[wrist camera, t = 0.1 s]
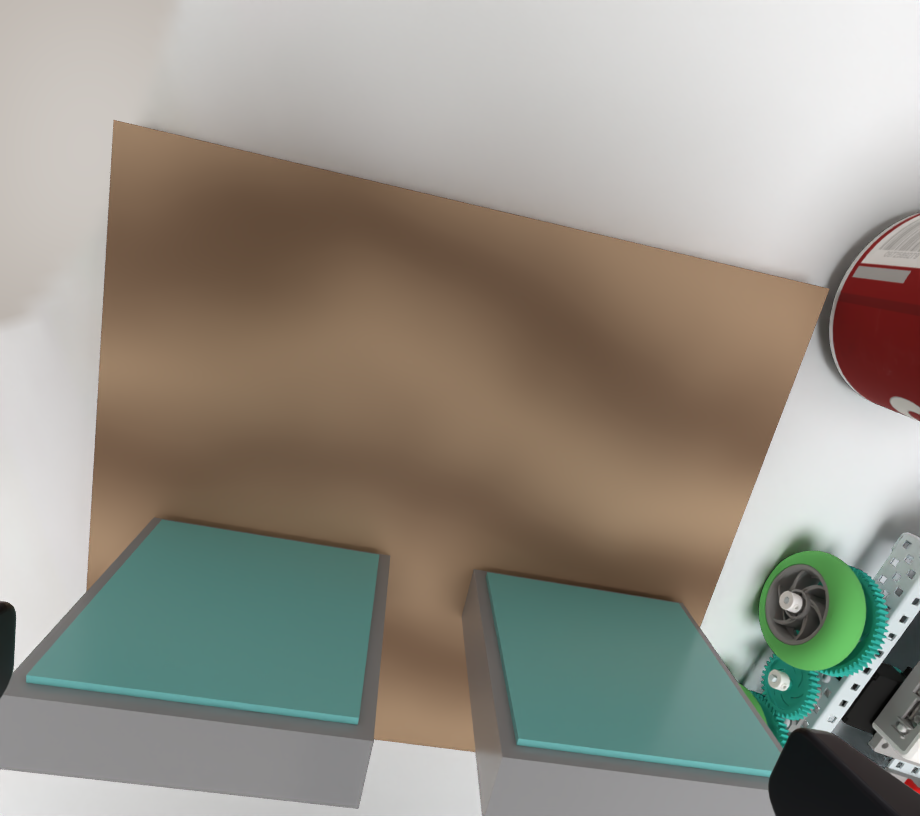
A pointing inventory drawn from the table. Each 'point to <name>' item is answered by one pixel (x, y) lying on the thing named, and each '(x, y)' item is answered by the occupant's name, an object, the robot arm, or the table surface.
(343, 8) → the table surface
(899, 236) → the soda can
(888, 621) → the robot kit
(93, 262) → the table surface
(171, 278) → the board
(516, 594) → the tile
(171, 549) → the tile
